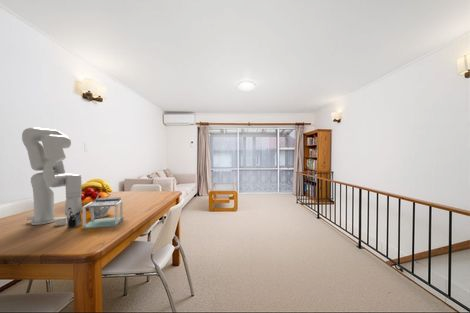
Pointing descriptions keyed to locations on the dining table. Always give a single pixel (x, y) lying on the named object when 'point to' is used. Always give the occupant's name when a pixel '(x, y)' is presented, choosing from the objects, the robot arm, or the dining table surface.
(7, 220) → the dining table surface
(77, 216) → the basalt stone
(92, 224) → the frame
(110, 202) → the trapdoor
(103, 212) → the crystal
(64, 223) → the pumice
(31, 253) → the dining table surface
